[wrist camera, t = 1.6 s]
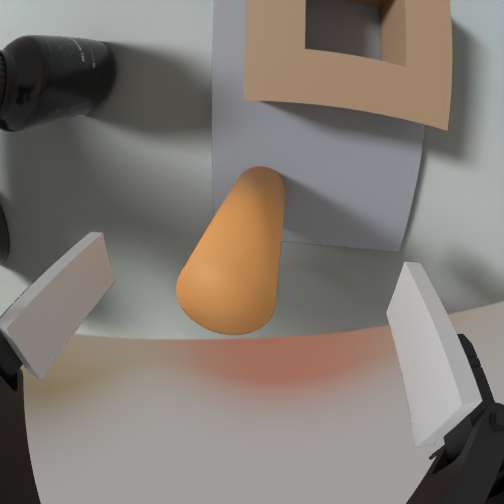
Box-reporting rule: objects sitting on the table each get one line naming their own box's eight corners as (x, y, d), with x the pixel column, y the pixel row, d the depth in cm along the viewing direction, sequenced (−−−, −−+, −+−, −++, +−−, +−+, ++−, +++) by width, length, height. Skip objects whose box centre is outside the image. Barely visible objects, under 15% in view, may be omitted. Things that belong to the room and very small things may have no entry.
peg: (235, 211, 21) (182, 328, 11) (235, 164, 20) (169, 252, 9) (284, 215, 21) (271, 339, 11) (287, 168, 19) (278, 261, 9)
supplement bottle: (129, 43, 16) (10, 33, 6) (106, 120, 20) (-9, 161, 9) (72, 38, 16) (-37, 41, 5) (54, 106, 19) (-50, 140, 9)
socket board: (217, 230, 24) (196, 271, 18) (219, -34, 12) (195, -68, 7) (395, 246, 22) (418, 290, 17) (421, -10, 11) (456, -33, 6)
